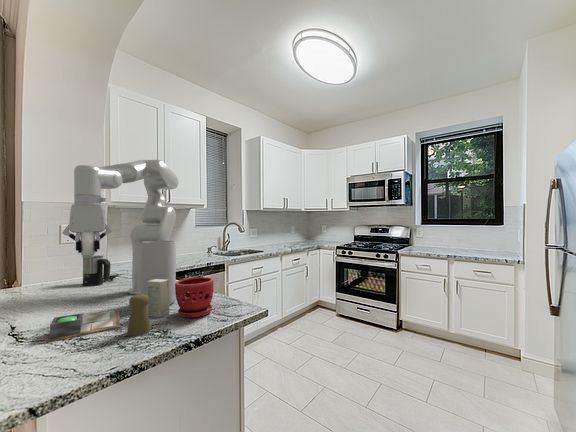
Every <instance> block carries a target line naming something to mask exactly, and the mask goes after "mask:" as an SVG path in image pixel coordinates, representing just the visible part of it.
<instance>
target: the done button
mask: <svg viewBox="0 0 576 432" xmlns="http://www.w3.org/2000/svg"><path fill="white" fill-rule="evenodd" d="M71 320H77V317H76V316H69V317H64V318H61V319H59V320H58V321H57V323H59V322H65V321H71Z"/></svg>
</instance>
